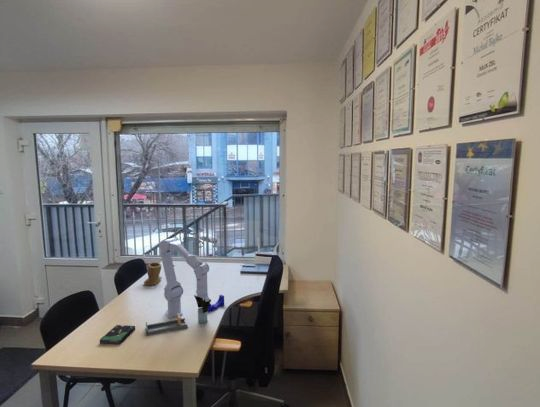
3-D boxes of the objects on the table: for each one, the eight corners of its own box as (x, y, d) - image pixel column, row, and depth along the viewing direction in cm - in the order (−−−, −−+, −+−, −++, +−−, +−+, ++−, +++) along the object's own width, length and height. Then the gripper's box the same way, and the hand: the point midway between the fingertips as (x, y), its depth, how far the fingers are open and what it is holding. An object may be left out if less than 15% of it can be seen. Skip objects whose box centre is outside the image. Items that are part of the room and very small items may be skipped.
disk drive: (116, 330, 165) (99, 345, 150) (116, 324, 165) (99, 339, 150) (135, 330, 164) (120, 345, 150) (135, 325, 164) (120, 340, 149)
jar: (197, 320, 175) (197, 308, 174) (206, 318, 177) (206, 306, 176) (199, 324, 170) (198, 311, 169) (208, 322, 172) (208, 310, 172)
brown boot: (157, 286, 227) (157, 266, 225) (141, 286, 227) (140, 265, 226) (166, 279, 242) (165, 260, 240) (150, 278, 242) (150, 259, 241)
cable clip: (209, 312, 185) (209, 302, 185) (205, 309, 188) (204, 300, 188) (225, 306, 194) (225, 296, 193) (221, 303, 197) (221, 294, 196)
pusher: (177, 322, 171) (177, 313, 170) (179, 321, 171) (179, 313, 171) (179, 327, 165) (178, 318, 165) (180, 326, 166) (180, 317, 165)
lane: (145, 328, 165) (145, 322, 165) (185, 321, 174) (185, 315, 173) (146, 336, 158) (145, 329, 157) (187, 327, 166) (187, 321, 166)
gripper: (190, 283, 175) (191, 306, 177) (199, 291, 163) (200, 316, 165) (202, 280, 179) (203, 303, 180) (212, 288, 167) (213, 313, 168)
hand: (202, 309), depth 173 cm, fingers open, 7 cm apart
